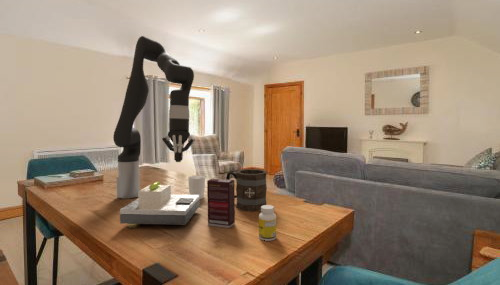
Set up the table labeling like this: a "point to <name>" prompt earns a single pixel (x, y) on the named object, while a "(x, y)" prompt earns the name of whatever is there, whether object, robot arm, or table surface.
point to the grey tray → (157, 218)
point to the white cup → (197, 185)
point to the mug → (250, 189)
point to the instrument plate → (160, 202)
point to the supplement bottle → (267, 223)
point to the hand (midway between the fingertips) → (178, 161)
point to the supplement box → (221, 202)
